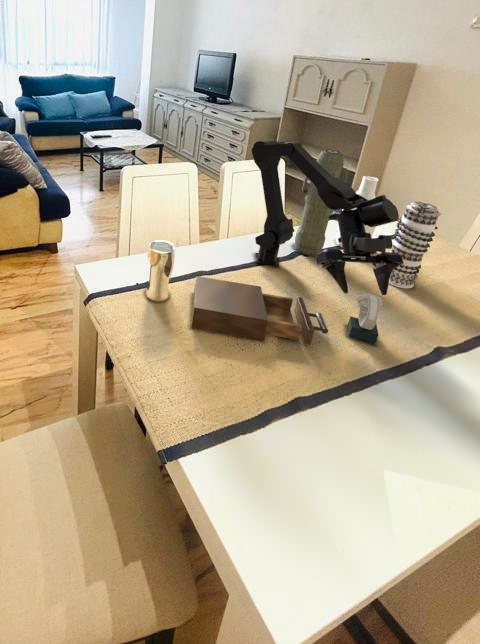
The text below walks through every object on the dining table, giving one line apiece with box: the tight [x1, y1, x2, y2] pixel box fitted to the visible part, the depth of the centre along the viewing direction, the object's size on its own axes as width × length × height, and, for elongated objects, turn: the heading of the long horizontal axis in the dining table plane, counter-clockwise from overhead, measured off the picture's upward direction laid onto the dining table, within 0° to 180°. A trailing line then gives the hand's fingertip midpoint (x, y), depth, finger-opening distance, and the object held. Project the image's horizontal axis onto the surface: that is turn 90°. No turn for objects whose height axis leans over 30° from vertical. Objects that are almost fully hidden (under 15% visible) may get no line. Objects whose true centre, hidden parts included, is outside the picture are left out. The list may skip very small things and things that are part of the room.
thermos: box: [293, 148, 350, 257], centre depth 126 cm, size 9×12×35 cm
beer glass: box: [145, 239, 176, 303], centre depth 102 cm, size 7×7×15 cm
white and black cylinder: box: [388, 201, 442, 289], centre depth 112 cm, size 9×9×25 cm
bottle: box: [335, 175, 379, 249], centre depth 132 cm, size 11×11×25 cm
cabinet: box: [191, 275, 268, 342], centre depth 96 cm, size 17×14×6 cm
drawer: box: [262, 292, 329, 346], centre depth 94 cm, size 20×12×4 cm, turn 78°
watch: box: [346, 293, 382, 346], centre depth 91 cm, size 6×8×11 cm
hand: (365, 294), depth 92 cm, fingers open, 9 cm apart
